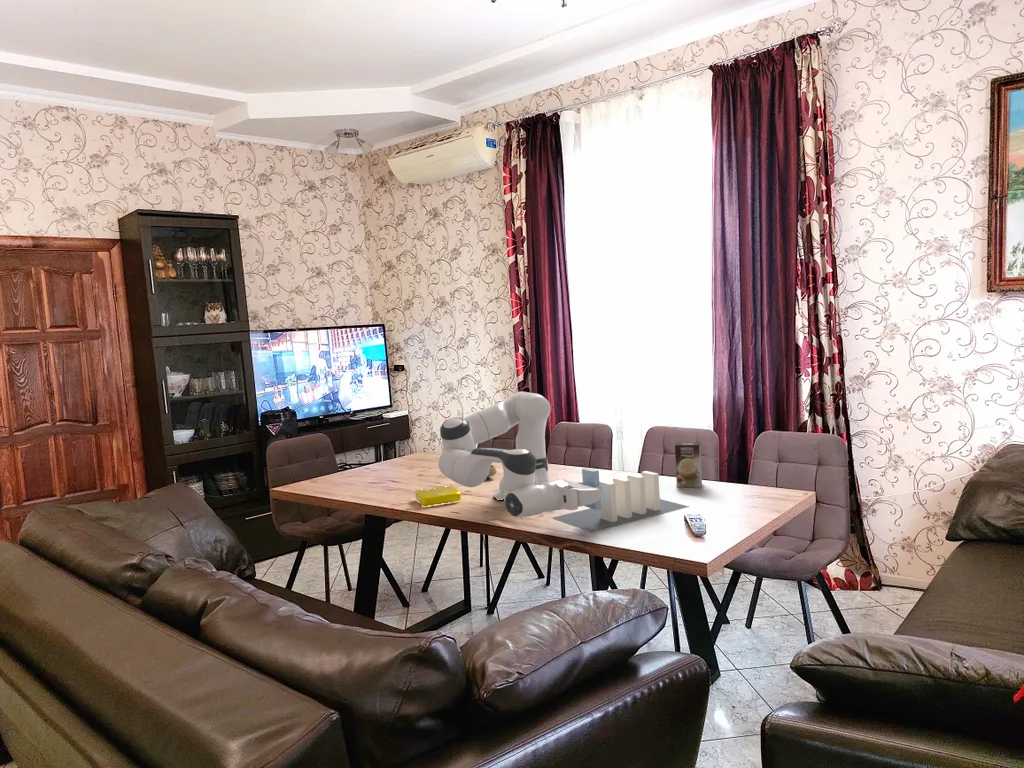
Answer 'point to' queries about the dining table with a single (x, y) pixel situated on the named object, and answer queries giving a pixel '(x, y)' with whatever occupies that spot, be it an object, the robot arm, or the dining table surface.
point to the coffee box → (688, 464)
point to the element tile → (438, 495)
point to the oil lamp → (492, 471)
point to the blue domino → (591, 484)
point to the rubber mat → (594, 523)
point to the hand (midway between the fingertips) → (593, 486)
